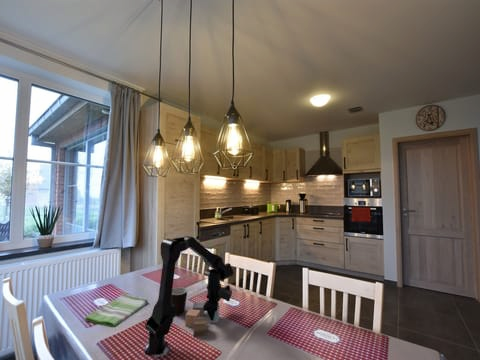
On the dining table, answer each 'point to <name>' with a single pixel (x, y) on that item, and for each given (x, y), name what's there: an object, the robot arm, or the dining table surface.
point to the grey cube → (216, 317)
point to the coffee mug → (179, 299)
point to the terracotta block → (191, 317)
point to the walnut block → (199, 326)
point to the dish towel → (117, 310)
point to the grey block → (199, 307)
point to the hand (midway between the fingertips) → (213, 317)
